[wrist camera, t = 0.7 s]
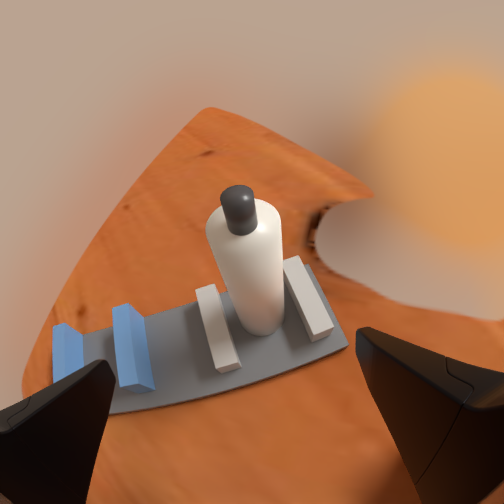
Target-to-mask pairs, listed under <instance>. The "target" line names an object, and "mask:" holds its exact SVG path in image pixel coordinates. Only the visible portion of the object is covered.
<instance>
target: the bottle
mask: <svg viewBox="0 0 504 504" xmlns="http://www.w3.org/2000/svg"><path fill="white" fill-rule="evenodd" d="M220 201H221V204H222V206H220V207H219V208H217V209H216V210H215V211H214V212H213V213H212V214H211V216H210V217H209V219H208V221H207V224H206V236H207V239H208V242H209V244H210V247H211V250H212V252H213V255H214V257H215V260H216V263H217V265H218V268H219V270H220V273H221V275H222V278H223V280H224V283H225V285H226V288H227V290H228V293H229V295H230V298H231V300H232V303H233V305H234V308H235V310H236V313H237V315H238V318H239V320H240V322H241V325H242V327H243V328H244V329H245V330H246V331H247V332H248V333H250V334H252V335H255V336H268V335H271V334H273V333H274V332H276V331H277V330H278V329H279V328H280V327H281V325H282V324H283V321H284V316H285V315H284V282H283V257H282V235H281V219H280V216H279V213H278V212H277V210H276V209H275V208H274V207H273V206H272V205H270V204H269V203H267V202H265V201H262V200H259V199H254V193H253V191H252V189H251V188H249V187H247V186H244V185H235V186H231V187H229V188H227V189H226V190H224V191H223V192H222V194H221V196H220Z"/></svg>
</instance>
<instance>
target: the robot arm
mask: <svg viewBox="0 0 504 504" xmlns="http://www.w3.org/2000/svg"><path fill="white" fill-rule="evenodd" d="M356 355H357V358H358V361H359V363H360V366H361V369H362V372H363V374H364V377H365V380H366V383H367V386H368V388H369V390H370V393H371V395H372V397H373V399H374V401H375V403H376V405H377V407H378V409H379V411H380V413H381V415H382V417H383V419H384V421H385V423H386V425H387V427H388V429H389V431H390V433H391V435H392V437H393V439H394V441H395V444H396V446H397V448H398V450H399V452H400V454H401V456H402V459H403V461H404V463H405V465H406V467H407V470H408V472H409V474H410V476H411V478H412V481H413V483H414V485H416V486H415V488H416V490H417V493H418V495H419V497H420V500H421V502H422V504H504V373H503V372H498V371H494V370H490V369H486V368H482V367H478V366H474V365H470V364H467V363H464V362H461V361H458V360H455V359H452V358H450V357H446V358H445V356H444V355H441V354H438V353H436V352H433V351H430V350H428V349H425V348H422V347H420V346H417V345H414V344H412V343H409V342H407V341H404V340H401V339H399V338H396V337H394V336H391V335H388V334H386V333H383V332H381V331H378V330H376V329H373V328H371V327H364V328H360V329H357V331H356ZM115 384H116V378H115V375H114V373H113V371H112V369H111V367H110V365H109V363H108V361H107V360H105V359H97V360H95V361H93V362H91V363H89V364H88V365H86V366H84V367H82V368H80V369H79V370H77V371H75V372H73V373H71V374H70V375H68V376H66V377H64V378H62V379H61V380H59V381H57V382H55V383H53V384H51V385H50V386H48V387H46V388H44V389H42V390H40V391H39V392H37V393H35V394H33V395H32V396H29V397H27V398H26V399H24V400H22V401H20V402H18V403H16V404H14V405H12V406H10V407H7V408H6V409H3V410H1V411H0V504H86V500H87V495H88V490H89V486H90V481H91V477H92V473H93V469H94V465H95V461H96V457H97V453H98V450H99V446H100V443H101V439H102V436H103V432H104V429H105V426H106V422H107V419H108V416H109V412H110V407H111V402H112V398H113V393H114V388H115Z"/></svg>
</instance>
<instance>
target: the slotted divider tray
mask: <svg viewBox="0 0 504 504" xmlns="http://www.w3.org/2000/svg"><path fill="white" fill-rule="evenodd" d="M283 282H284V315H285V316H284V321H283V324H282V325H281V327H280V328H279V329H278V330H277V331H276V332H274V333H273V334H271V335H268V336H255V335H252V334H250V333H248V332H247V331H246V330H245V329H244V328H243V327H242V325H241V322H240V320H239V318H238V315H237V313H236V310H235V308H234V305H233V303H232V300H231V298H230V295H229V293H228V291H226V292H223V293H220V294H219V293H218V290H217V288H216V286H215V284H211V285H208V286H205V287H202V288H199V289H196V295H197V299H198V301H195V302H192V303H189V304H186V305H183V306H179V307H176V308H173V309H170V310H166V311H163V312H160V313H157V314H153V315H150V316H147V317H143V316H142V315H140V314H139V313H138V312H137V311H136V310H135V309H134V308H133V307H132V306H131V305H130V304H129V303H127V304H124V305H120V306H117V307H114V308H112V314H113V327H109V328H105V329H102V330H98V331H95V332H91V333H88V334H84V335H82V334H80V333H79V332H77V331H76V330H74V329H73V328H71V327H70V326H69V325H67V324H66V323H63V324H59V325H56V326H53V383H55V382H57V381H59V380H61V379H62V378H64V377H66V376H68V375H70V374H71V373H73V372H75V371H77V370H79V369H80V368H82V367H84V366H86V365H88V364H89V363H91V362H93V361H95V360H97V359H105V360H107V361H108V363H109V365H110V367H111V369H112V371H113V373H114V375H115V378H116V384H115V388H114V393H113V398H112V402H111V407H110V412H109V415H114V414H122V413H129V412H136V411H142V410H148V409H154V408H159V407H164V406H169V405H174V404H179V403H183V402H188V401H192V400H196V399H200V398H204V397H208V396H212V395H216V394H220V393H223V392H227V391H230V390H234V389H237V388H241V387H244V386H247V385H250V384H253V383H257V382H260V381H263V380H266V379H269V378H272V377H274V376H277V375H280V374H283V373H286V372H288V371H291V370H294V369H296V368H299V367H302V366H304V365H307V364H309V363H312V362H314V361H317V360H319V359H322V358H324V357H326V356H329V355H331V354H333V353H336V352H338V351H340V350H342V349H345V348H347V347H348V345H349V343H348V341H347V339H346V337H345V335H344V333H343V331H342V329H341V327H340V325H339V323H338V321H337V319H336V317H335V315H334V313H333V311H332V309H331V307H330V305H329V303H328V301H327V299H326V297H325V295H324V293H323V291H322V289H321V287H320V285H319V283H318V282H317V280H316V278H315V276H314V274H313V272H312V270H311V268H310V266H309V264H306V265H303V263H302V261H301V259H300V257H299V256H295V257H292V258H289V259H286V260H283Z"/></svg>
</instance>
